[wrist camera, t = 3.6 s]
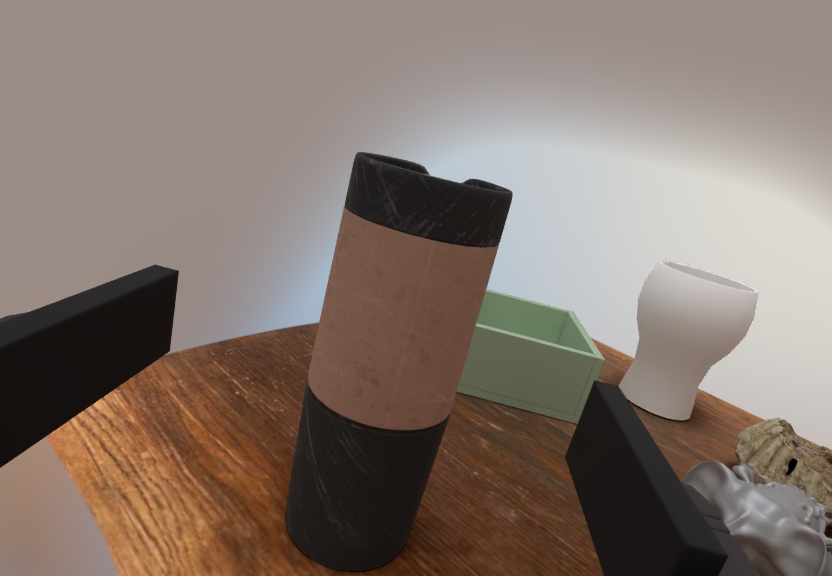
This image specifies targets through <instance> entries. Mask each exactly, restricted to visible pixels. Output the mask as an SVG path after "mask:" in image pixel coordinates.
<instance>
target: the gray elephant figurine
mask: <svg viewBox="0 0 832 576" xmlns="http://www.w3.org/2000/svg"><path fill="white" fill-rule="evenodd" d="M753 475H754V473H753V471H752V470H751V469H750V468H749V467H748V466H747V465H744V464H741V465H737V466H734V467H733V468H732V471H731V470H730V469H729V468H728V467H726V466H725V465H723V464H721V463H719V462H716V461H705V462H702V463H699V464H697V465H695V466H694V467H693V468H691V469H690V470H689V471H688V473H687V474H686V475H685V477H684V480H683V483H684V484H688V485H691V486H693V487H694V488H695V489H696V490H697V491H698V492H699V493H700V494H701V495H703V496H704V497H705V498H706V499H707V500H708V501H709V502H710V503H711V505H712V506H713V508H714V509H715V510H716V512H717V513H718V515H719V516H720V518H721V521H723V522H724V523H725V525H726V526H727V528H728V529H729V531H730V535H733V536H734V538H735V539H736V541H737V542H738V544H739V545H740V546H741V548H742V549H743V551H744V552H745V554H746V555H747V557H748V558H749V559H750V561H751V562H752V564H753V565H754V567H755V568H756V570H757V571H758V572H759V574H760V575H762V576H832V556H831V553H832V539H830V538H827V537H826V536H825V534H824V533H825V529H826V526H827V525H829V524H830V521H829V519H828V518H827V517H825V513H826V512H827V508H826V506H824V505H823V504H820V503H817V501H816V499H815V498H813V497H809V498H808V497H806V496H805V491H803V490H799V489H798V488H797V487H796V486H794V485H790V486H789V487H787V485H784V484H779V483H777V482H775V481H771V482H768V483H766V484H764V485H762V484H756V485H755V484H754V480H753Z"/></svg>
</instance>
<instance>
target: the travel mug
mask: <svg viewBox="0 0 832 576" xmlns="http://www.w3.org/2000/svg"><path fill="white" fill-rule="evenodd" d="M511 201H512V192H511V191H510V190H508V189H506V188H503V187H501V186H498V185H495V184H492V183H488V182H486V181H482V180H478V179H469V180H467V181H465V182H463V183H457V182H453V181H449V180H445V179H441V178H438V177H434V176H431V175H430V174H429V173H428V172H427V170H426V168H425V167H423V166H422V165H420V164H417V163H414V162H410V161H406V160H402V159H397V158H392V157H388V156H383V155H378V154H372V153H365V152H358V153H357V154H356V156H355V159H354V163H353V168H352V173H351V177H350V182H349V187H348V192H347V196H346V201H345V206H344V210H343V215H342V219H341V224H340V229H339V234H338V238H337V243H336V247H335V253H334V257H333V261H332V266H331V271H330V276H329V281H328V285H327V289H326V294H325V298H324V303H323V308H322V313H321V317H320V322H319V326H318V331H317V336H316V340H315V345H314V350H313V354H312V359H311V364H310V368H309V373H308V379H307V384H306V390H305V396H304V402H303V408H302V414H301V420H300V426H299V432H298V438H297V444H296V450H295V456H294V462H293V468H292V474H291V480H290V486H289V492H288V498H287V505H286V525H287V529H288V532H289V535H290V537H291V538H292V540H293V542H294V543H295V544H296V546H297V547H298V548H299V549H300V550H301V551H302V552H303V553H304V554H306V555H307V556H308V557H310V558H311V559H313V560H314V561H316V562H318V563H320V564H322V565H325V566H328V567H331V568H334V569H339V570H345V571H364V570H370V569H374V568H377V567H380V566H382V565H384V564H386V563H388V562H390V561H391V560H392V559H394V558H395V557H396V556H397V555H398V554H399V553H400V551H401V550H402V549H403V547H404V546H405V543H406V541H407V539H408V536H409V534H410V531H411V528H412V525H413V522H414V520H415V517H416V514H417V511H418V508H419V505H420V502H421V499H422V496H423V493H424V490H425V487H426V484H427V481H428V478H429V475H430V472H431V469H432V466H433V463H434V460H435V457H436V454H437V452H438V449H439V446H440V443H441V440H442V437H443V434H444V431H445V428H446V425H447V422H448V419H449V416H450V412H451V410H452V406H453V403H454V399H455V396H456V392H457V389H458V385H459V382H460V379H461V375H462V372H463V368H464V365H465V361H466V358H467V354H468V351H469V347H470V344H471V340H472V337H473V333H474V330H475V326H476V323H477V319H478V316H479V312H480V309H481V305H482V302H483V298H484V295H485V292H486V288H487V284H488V281H489V277H490V274H491V271H492V267H493V264H494V260H495V257H496V253H497V249H498V246H499V242H500V239H501V236H502V232H503V229H504V225H505V222H506V218H507V215H508V211H509V208H510V204H511Z"/></svg>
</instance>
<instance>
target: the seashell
mask: <svg viewBox="0 0 832 576" xmlns="http://www.w3.org/2000/svg"><path fill="white" fill-rule="evenodd" d="M737 437H738V438H739V443H738V446H737V448H736V452H735V453H736V457H737V458H738V460H739V462H740V464H739V465H741V464H744V465H747V466H748V467H749V468H750V469H751V470H752V471H753V473H754V475H753V480H754V484H755V485H756V484H762V485H764V484H766V483H768V482H771V481H775V482H777V483H779V484H784V485H787V487H789V486H790V485H794V486H796V487H797V488H798V489H799V490H803V491H805V496H806V497H808V498H809V497H813V498H815V499H816V501H817V503H820V504H823V505H824V506H826V508H827V512H826V513H825V517H827V518H828V519H829V521H830V524H829V525H832V450H830V449H828V448H826V447H823V446H822V447H819V446H812V445H811V443H810V442H807V441H803V440H802V439H801V438H800V437H798V436H797V435H796V433H795V432H794V430H793V428H792V426H791V424H789V423H788V422H787V421H785V420H782V419H780V418H776V419H771V420H768V421H765V422H762V423H758V424H756V425H753V426H750V427H747V428H745V429H744V430H743V431H740V432H739V434H738V436H737Z"/></svg>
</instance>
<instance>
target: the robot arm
mask: <svg viewBox="0 0 832 576" xmlns="http://www.w3.org/2000/svg"><path fill="white" fill-rule="evenodd" d="M178 274H179V271H177V270H173V269H170V268H165V267H162V266H158V265H153V266H150V267H148V268H145V269H143V270H140V271H137V272H134V273H132V274H129V275H126V276H124V277H121V278H118V279H116V280H113V281H110V282H108V283H105V284H102V285H100V286H97V287H95V288H92V289H89V290H87V291H84V292H81V293H79V294H76V295H73V296H71V297H68V298H65V299H63V300H60V301H57V302H55V303H52V304H49V305H47V306H44V307H41V308H39V309H36V310H33V311H31V312H27V313H21V314H16V315H10V316H6V317H4V318H1V319H0V468H1V467H2V466H4V465H5V464H7V463H8V462H9V461H11V460H12V459H14V458H15V457H17V456H18V455H19V454H21V453H23V452H24V451H25V450H27V449H28V448H30V447H31V446H33V445H34V444H36V443H37V442H38V441H40V440H41V439H43V438H44V437H46V436H47V435H49V434H50V433H52V432H53V431H54V430H56V429H57V428H59V427H60V426H62V425H63V424H65V423H66V422H68V421H69V420H70V419H72V418H73V417H75V416H76V415H78V414H79V413H81V412H82V411H84V410H85V409H86V408H88V407H89V406H91V405H92V404H94V403H95V402H97V401H98V400H99V399H101V398H102V397H104V396H105V395H107V394H108V393H110V392H111V391H113V390H114V389H115V388H117V387H118V386H120V385H121V384H123V383H124V382H126V381H127V380H129V379H130V378H131V377H133V376H134V375H136V374H137V373H139V372H140V371H142V370H143V369H145V368H146V367H147V366H149V365H150V364H152V363H153V362H155V361H156V360H158V359H159V358H161V357H162V356H163V355H165V354H166V353H168V352H169V351H170V343H171V334H172V327H173V317H174V309H175V300H176V292H177V282H178ZM565 458H566V461H567V464H568V467H569V470H570V473H571V476H572V479H573V482H574V485H575V488H576V491H577V494H578V497H579V500H580V504H581V507H582V510H583V513H584V516H585V519H586V522H587V525H588V528H589V531H590V534H591V537H592V540H593V543H594V546H595V549H596V552H597V555H598V558H599V562H600V565H601V568H602V571H603V574H604V576H762V575H760V574H759V572H758V571H757V570H756V568H755V567H754V565H753V564H752V562H751V561H750V559H749V558H748V557H747V555H746V554H745V552H744V551H743V549H742V548H741V546H740V545H739V544H738V542H737V541H736V539H735V538H734V536H733V535H730V531H729V529H728V528H727V526H726V525H725V523H724V522H723V521H721V518H720V516H719V515H718V513H717V512H716V510H715V509H714V508H713V506H712V505H711V503H710V502H709V501H708V500H707V499H706V498H705V497H704V496H703V495H701V494H700V493H699V492H698V491H697V490H696V489H695V488H694V487H693V486H691V485H688V484H684V483H681V482H680V480H679V479H678V477H677V475H676V474H675V472H674V471H673V469H672V468H671V466H670V465H669V463H668V462H667V460H666V459H665V457H664V455H663V454H662V452H661V451H660V449H659V448H658V446H657V445H656V443H655V442H654V440H653V439H652V437H651V435H650V434H649V432H648V431H647V429H646V428H645V426H644V425H643V423H642V422H641V420H640V418H639V417H638V415H637V414H636V412H635V411H634V409H633V408H632V406H631V405H630V403H629V402H628V400H627V398H626V397H625V395H624V394H623V392H622V391H621V389H620V388H619V387H618V386H614V385H610V384H607V383H603V382H599V381H595V380H594V382H593V385H592V387H591V390H590V393H589V395H588V398H587V400H586V403H585V406H584V408H583V411H582V414H581V416H580V419H579V422H578V424H577V427H576V429H575V432H574V435H573V437H572V440H571V443H570V445H569V448H568V451H567V453H566V456H565Z"/></svg>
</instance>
